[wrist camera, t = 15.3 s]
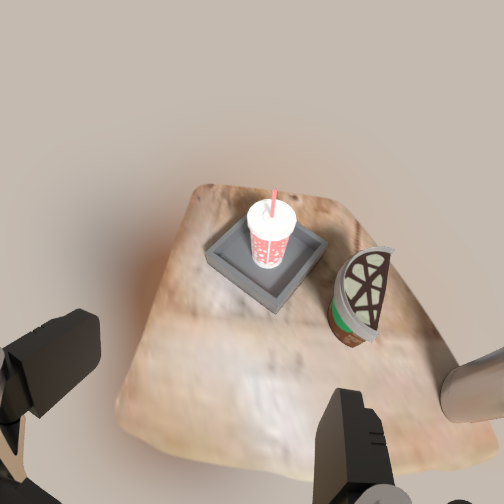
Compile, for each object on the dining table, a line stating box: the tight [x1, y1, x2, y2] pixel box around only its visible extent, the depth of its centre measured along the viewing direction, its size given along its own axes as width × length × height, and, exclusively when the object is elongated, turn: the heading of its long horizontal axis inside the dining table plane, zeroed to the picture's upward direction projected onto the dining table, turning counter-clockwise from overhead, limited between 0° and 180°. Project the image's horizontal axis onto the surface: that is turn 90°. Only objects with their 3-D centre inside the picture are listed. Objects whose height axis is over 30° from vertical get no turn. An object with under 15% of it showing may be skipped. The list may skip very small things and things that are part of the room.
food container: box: [328, 247, 394, 348], centre depth 36 cm, size 12×6×10 cm, turn 158°
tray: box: [205, 200, 329, 315], centre depth 44 cm, size 13×13×3 cm
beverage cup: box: [247, 188, 296, 269], centre depth 39 cm, size 6×6×14 cm
